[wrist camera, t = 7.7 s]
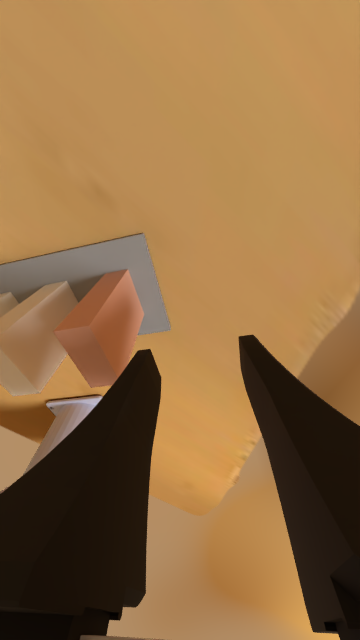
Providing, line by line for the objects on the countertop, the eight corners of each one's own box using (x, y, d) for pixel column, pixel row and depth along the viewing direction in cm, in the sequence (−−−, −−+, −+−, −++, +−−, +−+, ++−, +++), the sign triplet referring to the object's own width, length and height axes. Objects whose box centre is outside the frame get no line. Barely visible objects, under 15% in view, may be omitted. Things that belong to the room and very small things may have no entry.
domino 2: (144, 314, 19) (121, 384, 13) (124, 317, 20) (90, 387, 13) (128, 269, 17) (89, 325, 10) (105, 273, 17) (53, 331, 11)
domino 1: (89, 322, 20) (40, 393, 13) (70, 325, 20) (13, 396, 14) (66, 280, 18) (-7, 340, 11) (45, 284, 18) (-39, 345, 11)
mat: (170, 328, 21) (170, 330, 20) (-54, 362, 24) (-58, 364, 24) (143, 232, 16) (142, 233, 15) (-132, 293, 20) (-137, 295, 19)
